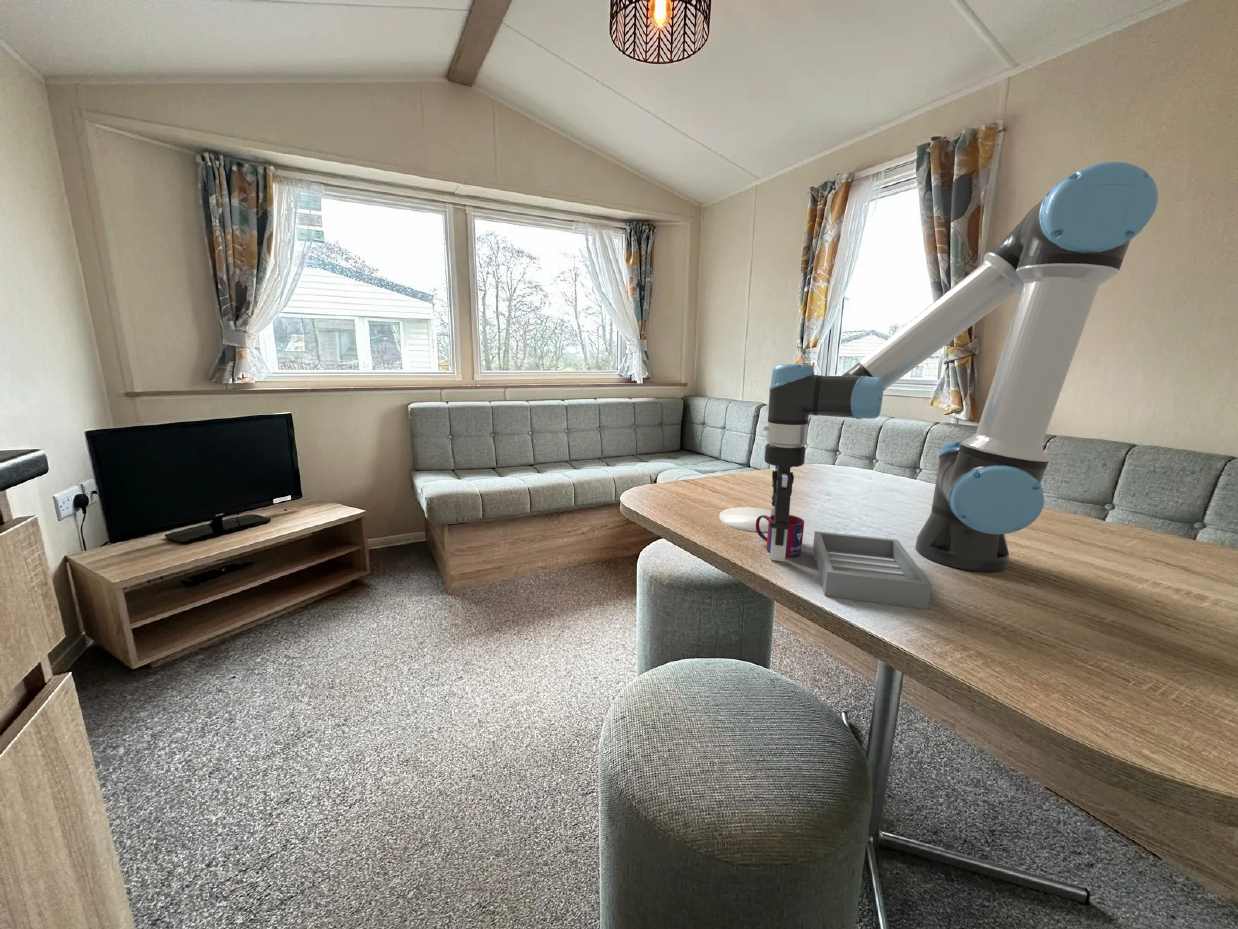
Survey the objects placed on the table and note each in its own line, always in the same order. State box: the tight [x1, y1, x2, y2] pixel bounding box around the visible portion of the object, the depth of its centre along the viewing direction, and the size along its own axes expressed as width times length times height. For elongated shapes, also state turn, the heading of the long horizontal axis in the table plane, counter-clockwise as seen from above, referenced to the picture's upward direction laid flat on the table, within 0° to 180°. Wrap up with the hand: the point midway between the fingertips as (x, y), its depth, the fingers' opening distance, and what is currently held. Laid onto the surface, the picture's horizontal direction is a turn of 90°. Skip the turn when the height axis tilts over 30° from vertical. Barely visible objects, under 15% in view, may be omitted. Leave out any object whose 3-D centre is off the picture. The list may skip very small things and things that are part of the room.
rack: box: [812, 530, 933, 610], centre depth 86 cm, size 15×20×4 cm
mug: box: [756, 514, 805, 559], centre depth 99 cm, size 7×10×7 cm
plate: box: [718, 506, 771, 533], centre depth 117 cm, size 16×16×1 cm
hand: (776, 547), depth 99 cm, fingers open, 12 cm apart
